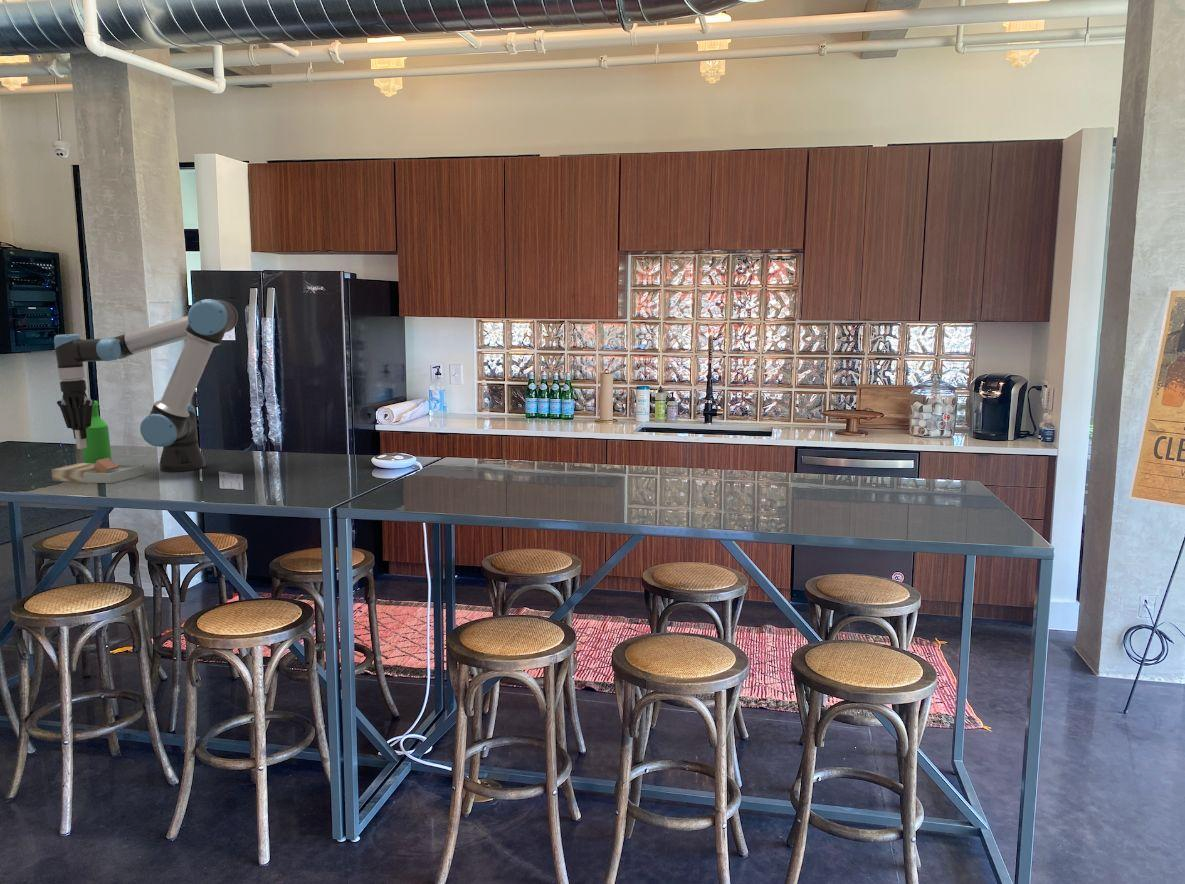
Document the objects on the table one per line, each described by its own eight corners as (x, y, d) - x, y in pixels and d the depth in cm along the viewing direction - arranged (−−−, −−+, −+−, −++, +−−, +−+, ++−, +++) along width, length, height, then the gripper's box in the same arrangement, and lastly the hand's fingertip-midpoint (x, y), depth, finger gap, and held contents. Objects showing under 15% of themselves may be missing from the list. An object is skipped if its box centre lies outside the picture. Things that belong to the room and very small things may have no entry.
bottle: (103, 471, 310) (95, 402, 306) (79, 471, 310) (71, 402, 306) (117, 466, 318) (110, 399, 314) (94, 466, 319) (86, 399, 315)
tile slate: (118, 467, 296) (119, 476, 297) (107, 470, 292) (108, 478, 292) (130, 467, 296) (131, 476, 296) (120, 470, 291) (121, 479, 291)
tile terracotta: (115, 473, 297) (118, 466, 296) (104, 475, 292) (108, 468, 291) (104, 464, 297) (107, 457, 297) (93, 467, 293) (96, 460, 292)
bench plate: (114, 475, 302) (113, 463, 301) (88, 482, 290) (86, 470, 289) (79, 474, 304) (78, 463, 304) (52, 481, 293) (51, 469, 292)
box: (144, 474, 301) (143, 464, 301) (111, 483, 286) (110, 473, 285) (119, 474, 303) (117, 464, 303) (84, 483, 288) (83, 473, 287)
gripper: (97, 378, 294) (106, 446, 298) (64, 379, 297) (74, 446, 300) (80, 380, 287) (90, 450, 291) (47, 381, 289) (57, 450, 293)
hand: (81, 448), depth 296 cm, fingers closed
